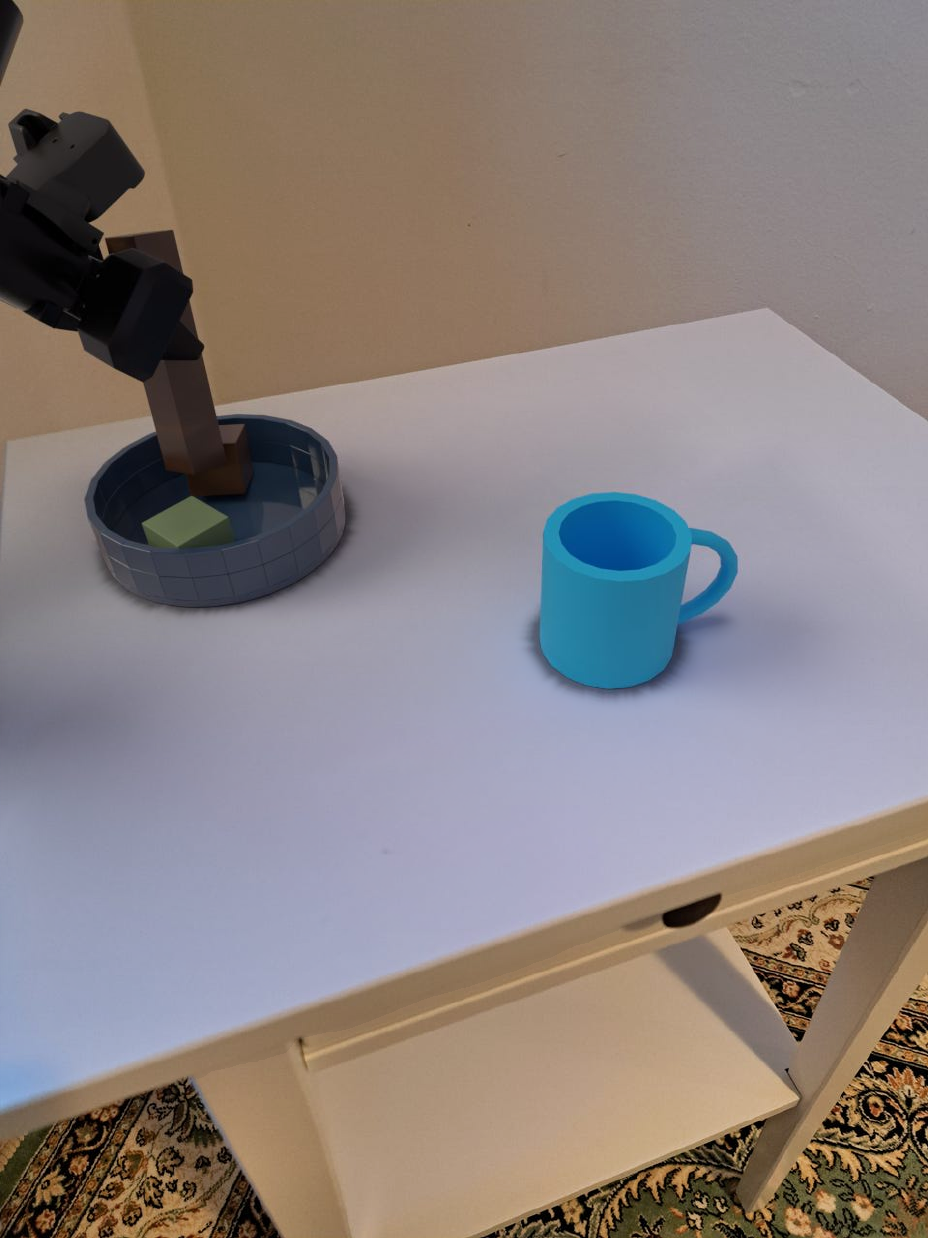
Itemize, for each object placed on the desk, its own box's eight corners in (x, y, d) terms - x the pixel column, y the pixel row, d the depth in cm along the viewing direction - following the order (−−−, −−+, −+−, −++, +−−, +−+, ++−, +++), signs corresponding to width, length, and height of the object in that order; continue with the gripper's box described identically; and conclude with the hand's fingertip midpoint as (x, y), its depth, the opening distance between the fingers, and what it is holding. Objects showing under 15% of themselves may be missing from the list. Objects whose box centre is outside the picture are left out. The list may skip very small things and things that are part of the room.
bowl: (120, 637, 56) (98, 583, 53) (94, 496, 68) (74, 446, 65) (376, 564, 61) (369, 510, 58) (310, 444, 72) (301, 395, 69)
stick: (193, 475, 60) (133, 235, 53) (166, 470, 61) (103, 237, 55) (227, 461, 62) (173, 229, 55) (200, 457, 63) (144, 231, 57)
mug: (563, 700, 51) (569, 593, 45) (523, 609, 57) (525, 504, 51) (755, 661, 53) (784, 554, 47) (697, 577, 58) (717, 472, 53)
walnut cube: (190, 497, 65) (179, 445, 63) (202, 475, 69) (191, 426, 66) (245, 494, 65) (235, 442, 63) (254, 472, 69) (245, 423, 66)
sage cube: (157, 570, 60) (141, 522, 57) (205, 542, 62) (191, 495, 59) (193, 594, 58) (177, 546, 55) (241, 564, 60) (228, 516, 57)
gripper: (106, 90, 40) (328, 266, 53) (-59, 47, 50) (162, 204, 63) (3, 315, 41) (245, 433, 54) (-137, 228, 51) (96, 345, 64)
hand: (184, 344), depth 59 cm, fingers closed on stick, 3 cm apart
